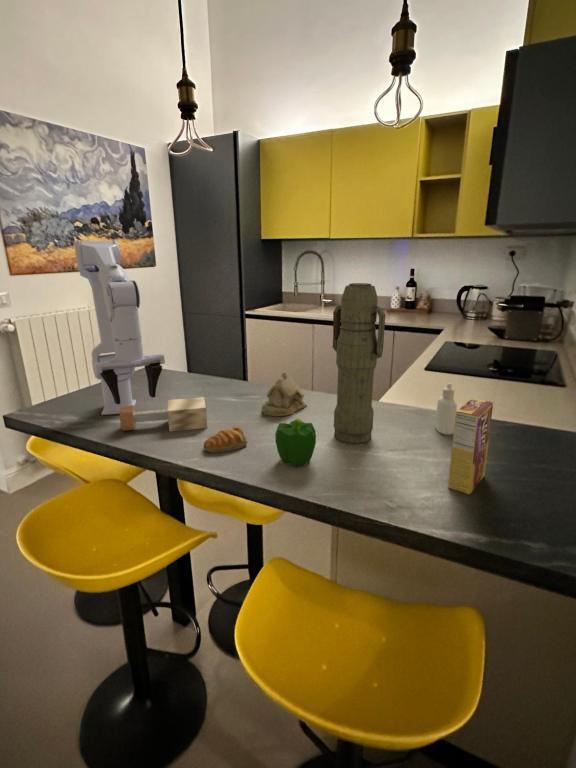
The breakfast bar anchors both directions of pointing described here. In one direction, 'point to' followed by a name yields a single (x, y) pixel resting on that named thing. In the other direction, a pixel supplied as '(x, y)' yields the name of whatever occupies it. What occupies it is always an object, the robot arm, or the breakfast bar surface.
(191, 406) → the block
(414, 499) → the breakfast bar surface
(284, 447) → the bell pepper
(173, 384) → the breakfast bar surface
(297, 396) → the ceramic model
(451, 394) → the eye dropper bottle
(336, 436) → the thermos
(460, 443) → the candy box
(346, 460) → the breakfast bar surface
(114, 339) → the robot arm
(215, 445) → the pastry
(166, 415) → the shaft
